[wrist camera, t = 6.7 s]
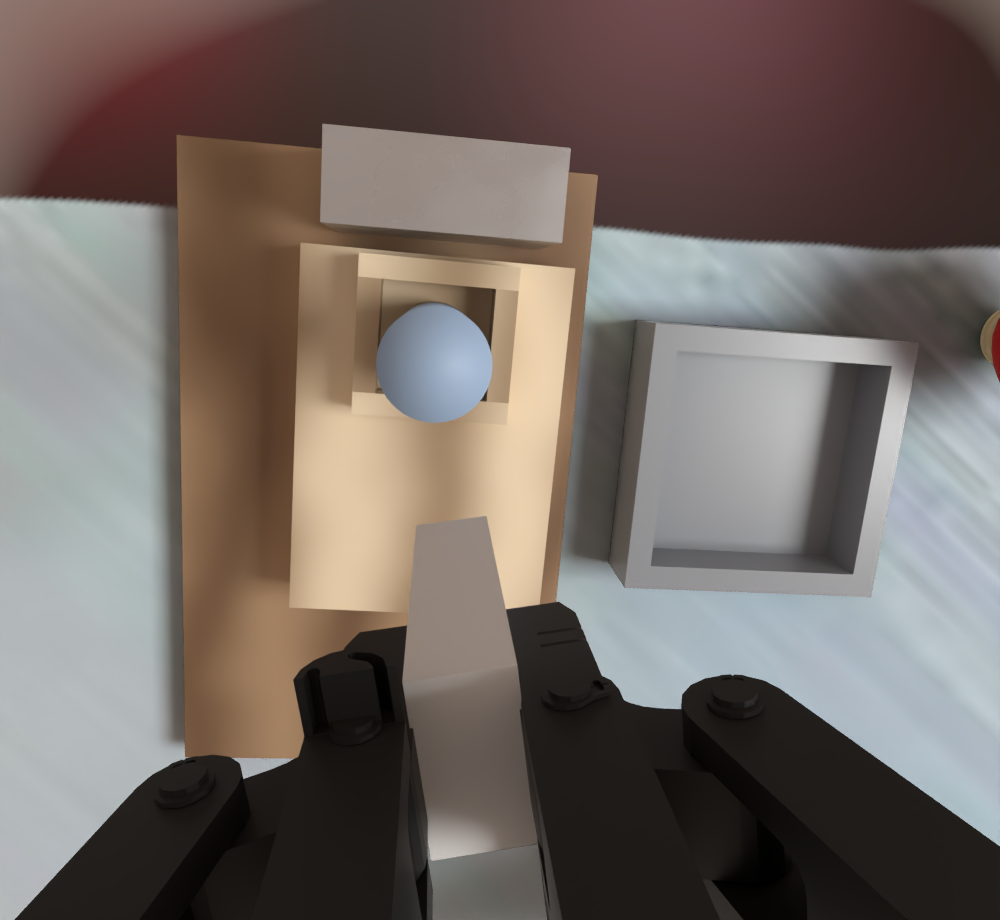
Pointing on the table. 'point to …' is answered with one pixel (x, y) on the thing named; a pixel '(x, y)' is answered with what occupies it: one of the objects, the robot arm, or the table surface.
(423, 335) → the dowel
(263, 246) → the board
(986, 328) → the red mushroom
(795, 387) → the tray
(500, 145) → the block
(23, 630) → the table surface
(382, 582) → the wooden block with recess
